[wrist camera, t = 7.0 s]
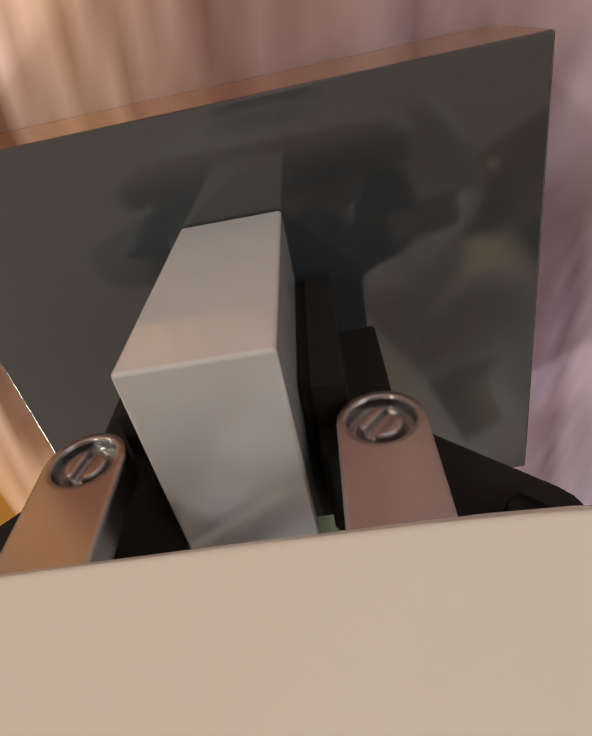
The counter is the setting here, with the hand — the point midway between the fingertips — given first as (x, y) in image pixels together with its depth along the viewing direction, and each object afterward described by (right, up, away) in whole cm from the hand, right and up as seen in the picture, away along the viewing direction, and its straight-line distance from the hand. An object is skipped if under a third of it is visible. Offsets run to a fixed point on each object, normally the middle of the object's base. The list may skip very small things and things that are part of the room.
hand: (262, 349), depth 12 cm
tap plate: (0, +2, +3) cm, 3 cm away
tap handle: (0, 0, 0) cm, 0 cm away
